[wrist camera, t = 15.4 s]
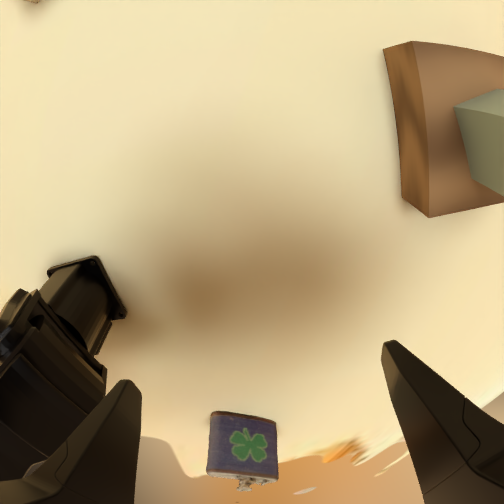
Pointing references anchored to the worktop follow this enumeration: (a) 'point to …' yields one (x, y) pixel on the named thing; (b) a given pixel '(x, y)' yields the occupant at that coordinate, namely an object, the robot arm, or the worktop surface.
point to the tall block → (484, 137)
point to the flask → (242, 449)
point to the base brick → (438, 122)
